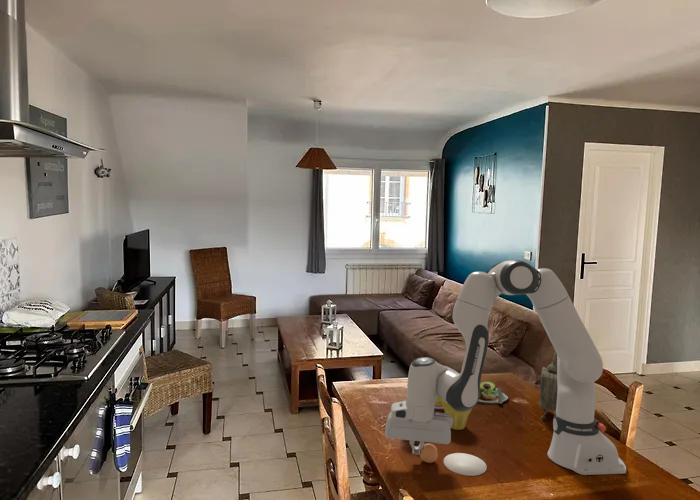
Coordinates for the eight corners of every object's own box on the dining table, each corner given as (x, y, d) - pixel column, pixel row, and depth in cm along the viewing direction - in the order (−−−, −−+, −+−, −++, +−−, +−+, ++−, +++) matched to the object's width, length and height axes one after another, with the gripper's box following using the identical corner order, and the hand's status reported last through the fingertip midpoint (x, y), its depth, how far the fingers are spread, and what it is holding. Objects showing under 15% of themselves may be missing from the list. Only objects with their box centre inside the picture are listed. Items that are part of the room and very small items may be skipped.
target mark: (482, 455, 154) (482, 454, 154) (490, 477, 141) (490, 476, 141) (441, 452, 155) (441, 451, 155) (446, 474, 142) (446, 473, 142)
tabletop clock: (540, 406, 195) (544, 346, 193) (564, 411, 192) (569, 350, 190) (537, 420, 182) (542, 356, 180) (563, 425, 179) (568, 360, 177)
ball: (424, 459, 152) (440, 452, 152) (425, 469, 147) (441, 462, 146) (416, 444, 152) (432, 437, 151) (417, 453, 147) (433, 446, 146)
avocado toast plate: (519, 406, 196) (520, 395, 196) (478, 408, 193) (479, 397, 192) (496, 389, 215) (497, 379, 215) (459, 390, 212) (459, 380, 211)
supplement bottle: (449, 407, 192) (451, 376, 190) (437, 411, 188) (439, 379, 187) (437, 401, 197) (439, 371, 196) (425, 405, 193) (427, 374, 192)
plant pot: (471, 434, 169) (472, 407, 168) (441, 430, 171) (442, 403, 170) (469, 421, 179) (471, 396, 178) (441, 418, 181) (443, 393, 180)
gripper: (452, 409, 151) (448, 452, 152) (387, 403, 152) (383, 445, 153) (454, 418, 144) (450, 462, 145) (387, 411, 146) (383, 454, 147)
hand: (415, 453), depth 149 cm, fingers closed
